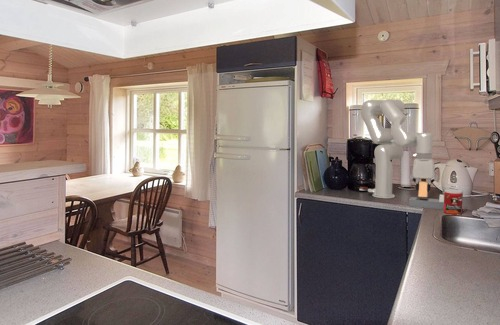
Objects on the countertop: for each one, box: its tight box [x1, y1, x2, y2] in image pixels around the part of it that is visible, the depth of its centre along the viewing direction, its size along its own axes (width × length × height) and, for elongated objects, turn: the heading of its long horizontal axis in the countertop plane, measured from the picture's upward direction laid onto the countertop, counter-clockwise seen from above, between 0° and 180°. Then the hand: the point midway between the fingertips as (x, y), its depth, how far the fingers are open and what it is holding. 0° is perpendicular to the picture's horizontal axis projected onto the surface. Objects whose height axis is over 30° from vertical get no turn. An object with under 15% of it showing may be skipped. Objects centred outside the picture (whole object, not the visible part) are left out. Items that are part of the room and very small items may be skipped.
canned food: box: [443, 188, 464, 216], centre depth 165 cm, size 8×8×11 cm
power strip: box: [408, 193, 444, 211], centre depth 178 cm, size 20×8×6 cm, turn 59°
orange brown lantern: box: [417, 178, 429, 198], centre depth 180 cm, size 4×4×10 cm
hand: (423, 190), depth 180 cm, fingers closed on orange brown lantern, 4 cm apart
